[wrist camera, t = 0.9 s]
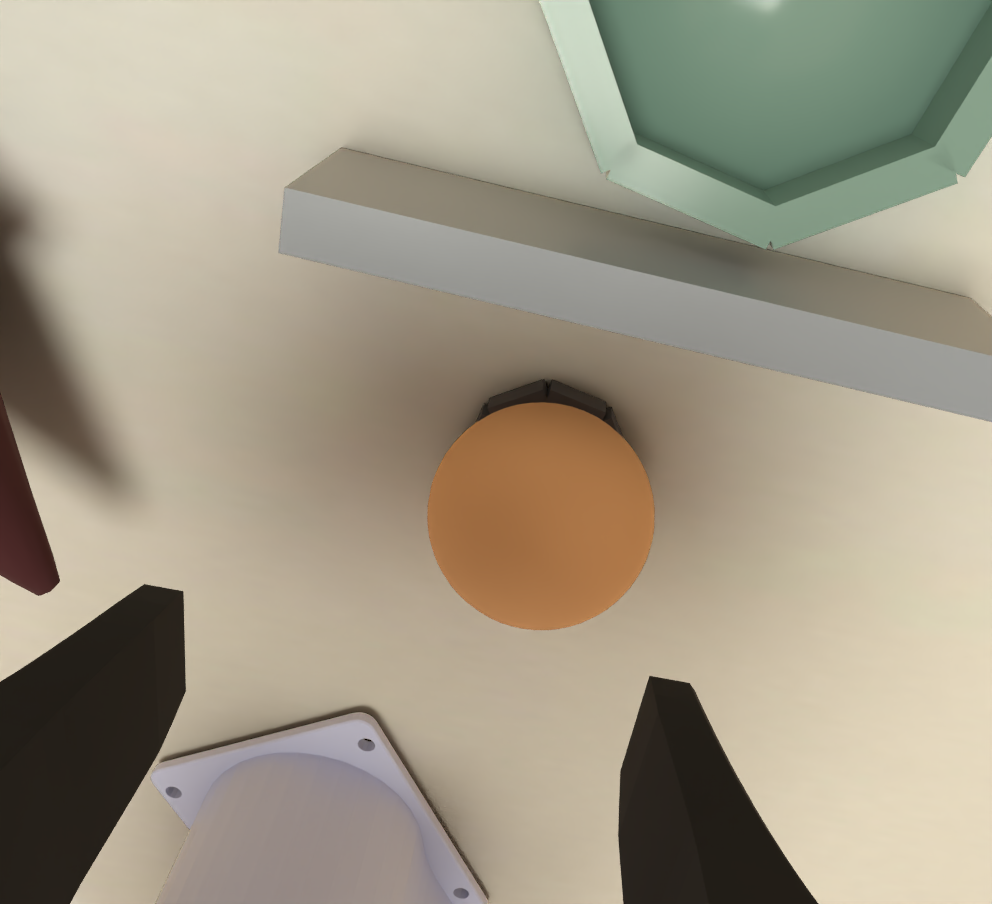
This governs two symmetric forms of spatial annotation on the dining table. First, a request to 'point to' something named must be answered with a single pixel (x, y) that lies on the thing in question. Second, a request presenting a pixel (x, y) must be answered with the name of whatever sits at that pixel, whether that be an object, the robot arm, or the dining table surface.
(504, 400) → the ring
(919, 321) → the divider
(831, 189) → the dish
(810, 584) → the dining table surface
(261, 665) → the dining table surface
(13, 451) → the icecream
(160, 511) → the dining table surface
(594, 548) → the ball
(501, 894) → the dining table surface
